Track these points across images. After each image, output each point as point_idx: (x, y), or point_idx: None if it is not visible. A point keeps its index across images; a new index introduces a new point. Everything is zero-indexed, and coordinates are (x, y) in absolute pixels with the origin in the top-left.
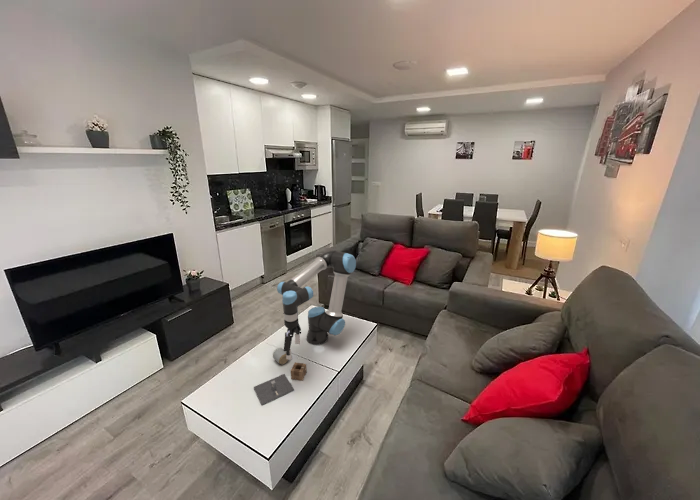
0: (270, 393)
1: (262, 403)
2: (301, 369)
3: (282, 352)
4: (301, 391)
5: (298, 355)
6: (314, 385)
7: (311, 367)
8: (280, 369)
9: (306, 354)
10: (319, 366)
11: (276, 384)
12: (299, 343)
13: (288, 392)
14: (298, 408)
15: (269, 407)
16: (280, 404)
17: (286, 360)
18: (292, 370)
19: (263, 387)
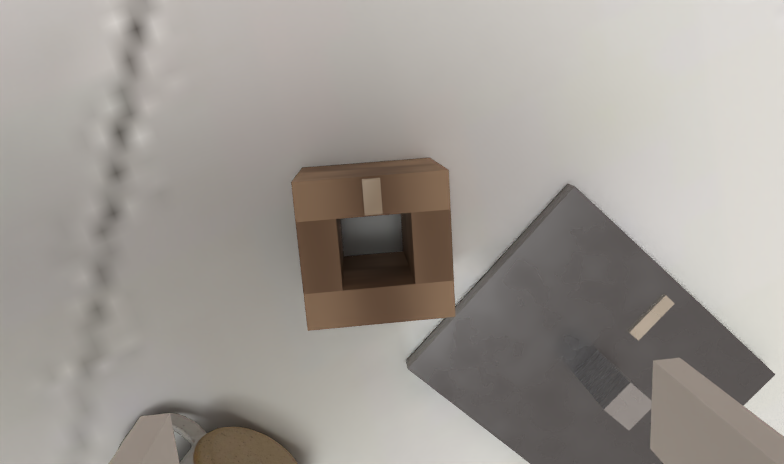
0: None
1: (768, 371)
2: (404, 198)
3: None
4: (564, 109)
5: (87, 362)
6: (461, 6)
7: (217, 144)
8: (344, 431)
9: (35, 287)
10: (169, 58)
11: (553, 370)
12: (164, 431)
13: (610, 222)
14: (756, 52)
15: (772, 301)
16: (734, 229)
17: (238, 439)
18: (448, 295)
19: (607, 454)
